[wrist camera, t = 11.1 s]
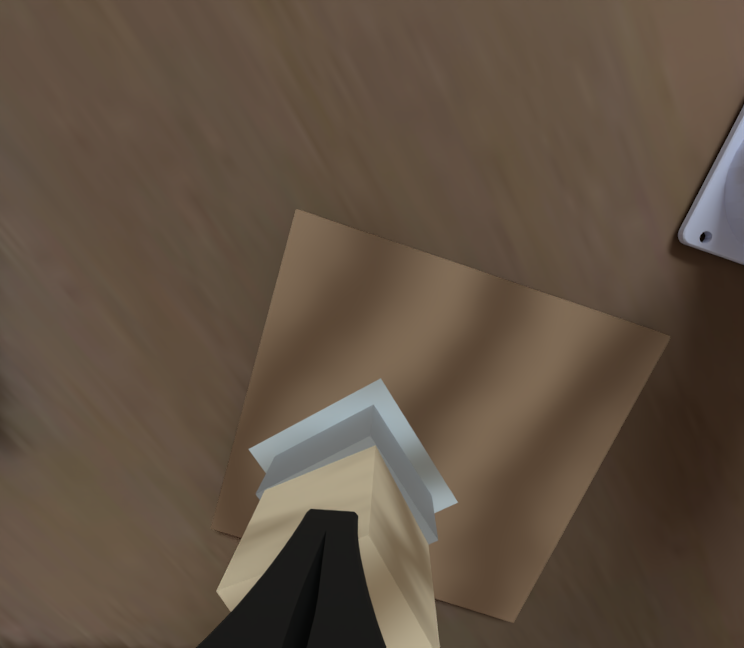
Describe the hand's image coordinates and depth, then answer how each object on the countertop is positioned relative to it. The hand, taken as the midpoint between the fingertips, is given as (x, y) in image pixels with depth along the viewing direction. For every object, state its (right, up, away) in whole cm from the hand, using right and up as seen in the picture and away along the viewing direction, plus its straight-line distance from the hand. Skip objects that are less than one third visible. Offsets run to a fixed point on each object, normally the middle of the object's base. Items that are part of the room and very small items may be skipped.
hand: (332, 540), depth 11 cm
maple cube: (0, -3, +7) cm, 7 cm away
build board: (+4, 0, +10) cm, 11 cm away
